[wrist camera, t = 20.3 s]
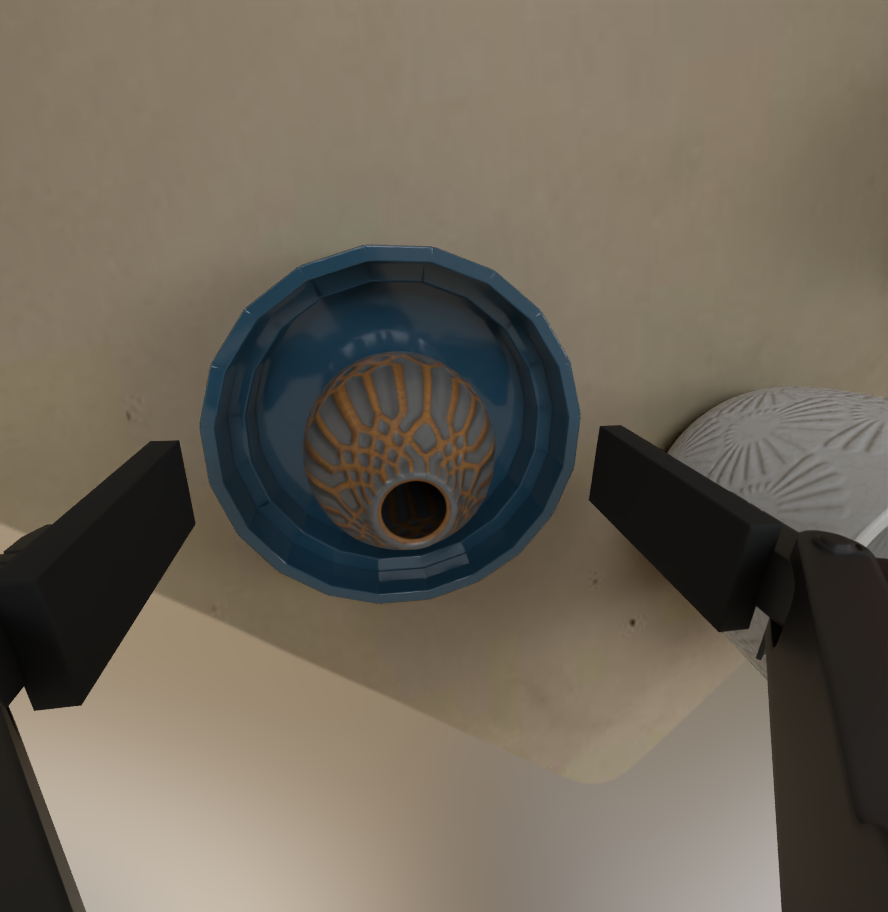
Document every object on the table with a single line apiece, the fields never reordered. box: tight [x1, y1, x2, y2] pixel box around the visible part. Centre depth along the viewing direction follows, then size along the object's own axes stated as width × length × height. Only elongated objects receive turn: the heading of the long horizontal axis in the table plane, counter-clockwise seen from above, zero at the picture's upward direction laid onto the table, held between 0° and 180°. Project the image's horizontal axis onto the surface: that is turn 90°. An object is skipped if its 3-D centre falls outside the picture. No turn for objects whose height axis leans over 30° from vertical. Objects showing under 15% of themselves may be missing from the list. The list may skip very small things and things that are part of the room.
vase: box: [303, 351, 496, 550], centre depth 17 cm, size 7×7×9 cm
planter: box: [667, 386, 888, 681], centre depth 21 cm, size 12×12×11 cm
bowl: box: [200, 245, 580, 604], centre depth 20 cm, size 14×14×4 cm
